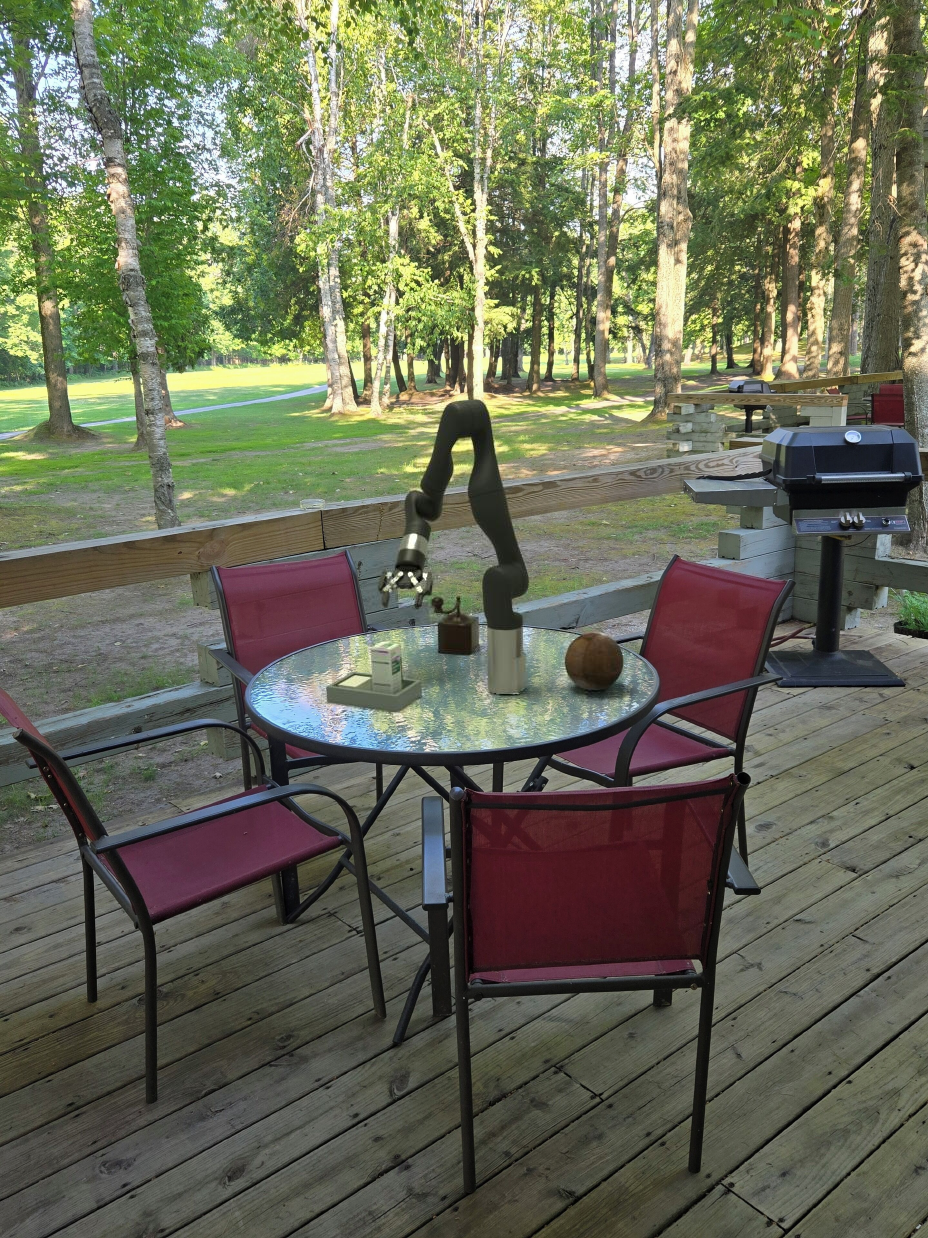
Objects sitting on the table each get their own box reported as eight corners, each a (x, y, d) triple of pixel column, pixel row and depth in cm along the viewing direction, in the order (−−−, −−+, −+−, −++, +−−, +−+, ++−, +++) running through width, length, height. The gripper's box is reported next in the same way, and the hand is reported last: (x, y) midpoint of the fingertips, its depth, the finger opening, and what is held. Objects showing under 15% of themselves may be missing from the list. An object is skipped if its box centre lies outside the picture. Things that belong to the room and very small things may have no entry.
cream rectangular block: (372, 692, 232) (371, 677, 231) (356, 702, 225) (355, 686, 224) (355, 690, 234) (355, 675, 233) (339, 699, 227) (338, 684, 226)
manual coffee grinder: (445, 643, 279) (444, 586, 274) (480, 645, 276) (479, 588, 271) (429, 658, 264) (428, 598, 260) (466, 660, 261) (465, 599, 257)
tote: (422, 699, 229) (421, 680, 228) (397, 716, 218) (396, 696, 217) (354, 689, 238) (353, 671, 236) (327, 705, 226) (326, 686, 225)
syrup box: (393, 705, 222) (390, 649, 219) (372, 702, 225) (369, 646, 221) (404, 698, 227) (402, 642, 224) (383, 695, 230) (381, 640, 226)
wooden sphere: (631, 685, 237) (633, 630, 233) (607, 702, 225) (609, 644, 221) (580, 676, 245) (581, 623, 241) (554, 692, 233) (554, 636, 229)
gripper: (383, 546, 239) (370, 598, 231) (435, 547, 236) (423, 600, 228) (390, 562, 246) (378, 613, 238) (440, 563, 242) (430, 615, 234)
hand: (400, 606), depth 233 cm, fingers open, 8 cm apart
